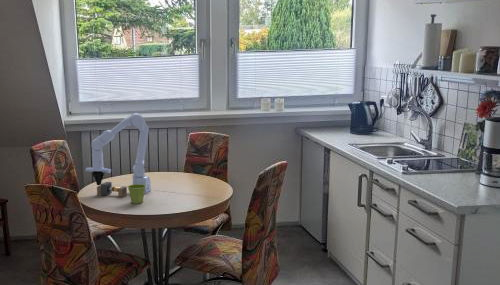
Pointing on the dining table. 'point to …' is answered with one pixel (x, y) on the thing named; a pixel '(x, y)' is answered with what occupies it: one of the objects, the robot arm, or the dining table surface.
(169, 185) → the dining table surface
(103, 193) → the gray square nut
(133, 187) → the plant pot
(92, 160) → the robot arm
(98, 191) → the brown dumbbell
